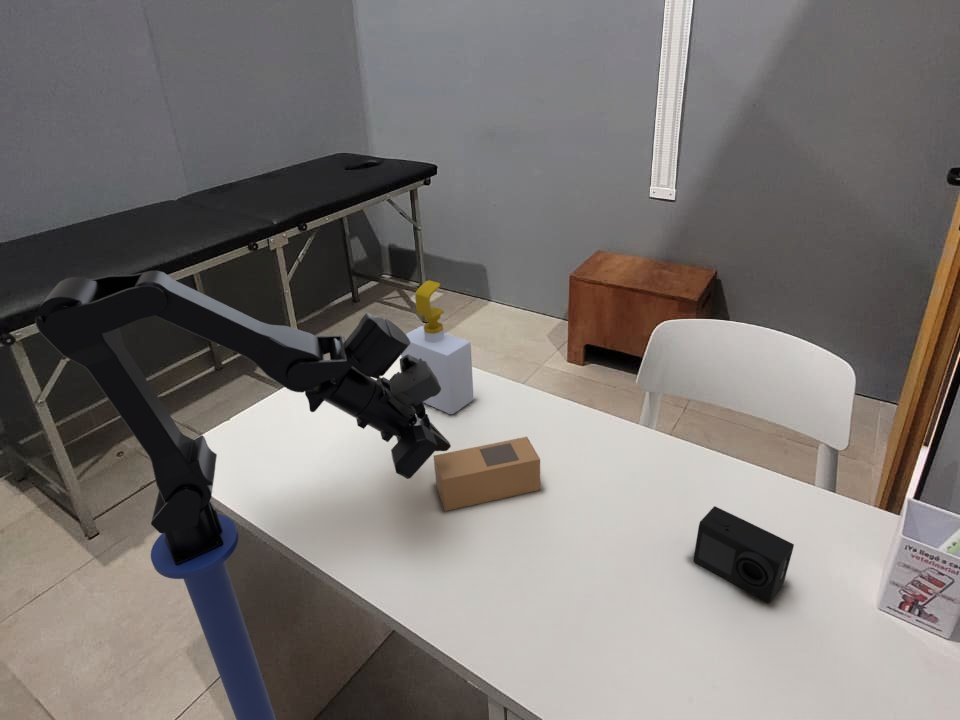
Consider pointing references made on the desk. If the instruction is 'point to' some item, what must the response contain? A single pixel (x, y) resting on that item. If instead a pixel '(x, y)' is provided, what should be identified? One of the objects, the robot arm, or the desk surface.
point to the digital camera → (742, 553)
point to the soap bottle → (441, 355)
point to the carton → (487, 473)
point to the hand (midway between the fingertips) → (448, 447)
